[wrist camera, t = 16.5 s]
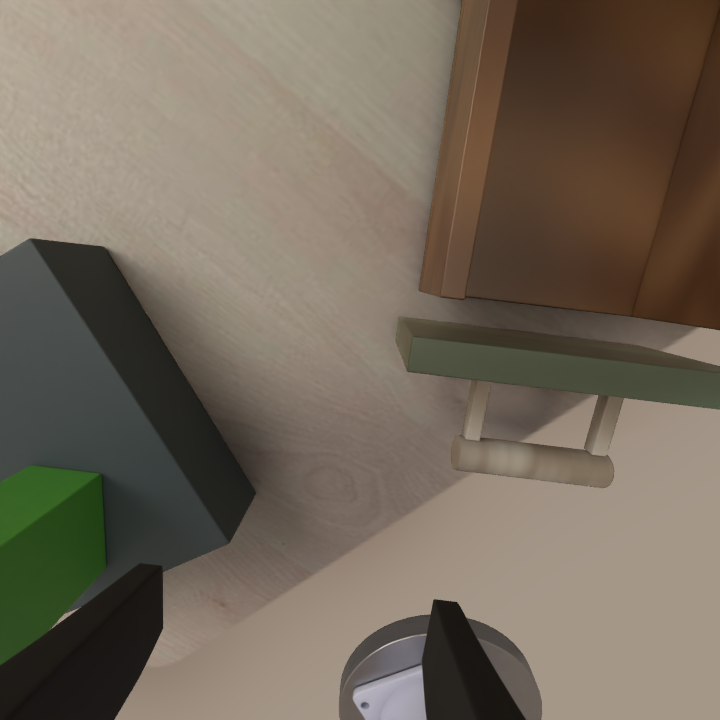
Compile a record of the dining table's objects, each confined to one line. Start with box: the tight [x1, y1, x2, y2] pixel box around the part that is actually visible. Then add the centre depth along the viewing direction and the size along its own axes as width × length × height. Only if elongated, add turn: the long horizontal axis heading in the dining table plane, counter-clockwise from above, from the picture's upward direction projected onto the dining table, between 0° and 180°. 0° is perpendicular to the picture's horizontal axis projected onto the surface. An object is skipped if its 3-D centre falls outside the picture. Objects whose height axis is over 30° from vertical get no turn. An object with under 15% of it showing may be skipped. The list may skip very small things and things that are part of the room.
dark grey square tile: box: [0, 238, 256, 613], centre depth 18 cm, size 15×13×4 cm
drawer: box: [396, 0, 720, 488], centre depth 13 cm, size 23×11×6 cm, turn 173°
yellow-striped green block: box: [0, 465, 106, 665], centre depth 14 cm, size 5×3×6 cm, turn 173°
